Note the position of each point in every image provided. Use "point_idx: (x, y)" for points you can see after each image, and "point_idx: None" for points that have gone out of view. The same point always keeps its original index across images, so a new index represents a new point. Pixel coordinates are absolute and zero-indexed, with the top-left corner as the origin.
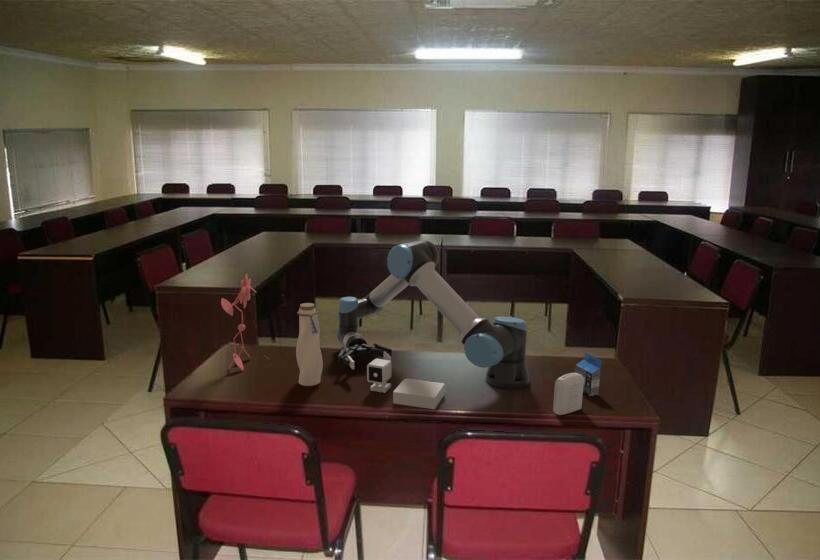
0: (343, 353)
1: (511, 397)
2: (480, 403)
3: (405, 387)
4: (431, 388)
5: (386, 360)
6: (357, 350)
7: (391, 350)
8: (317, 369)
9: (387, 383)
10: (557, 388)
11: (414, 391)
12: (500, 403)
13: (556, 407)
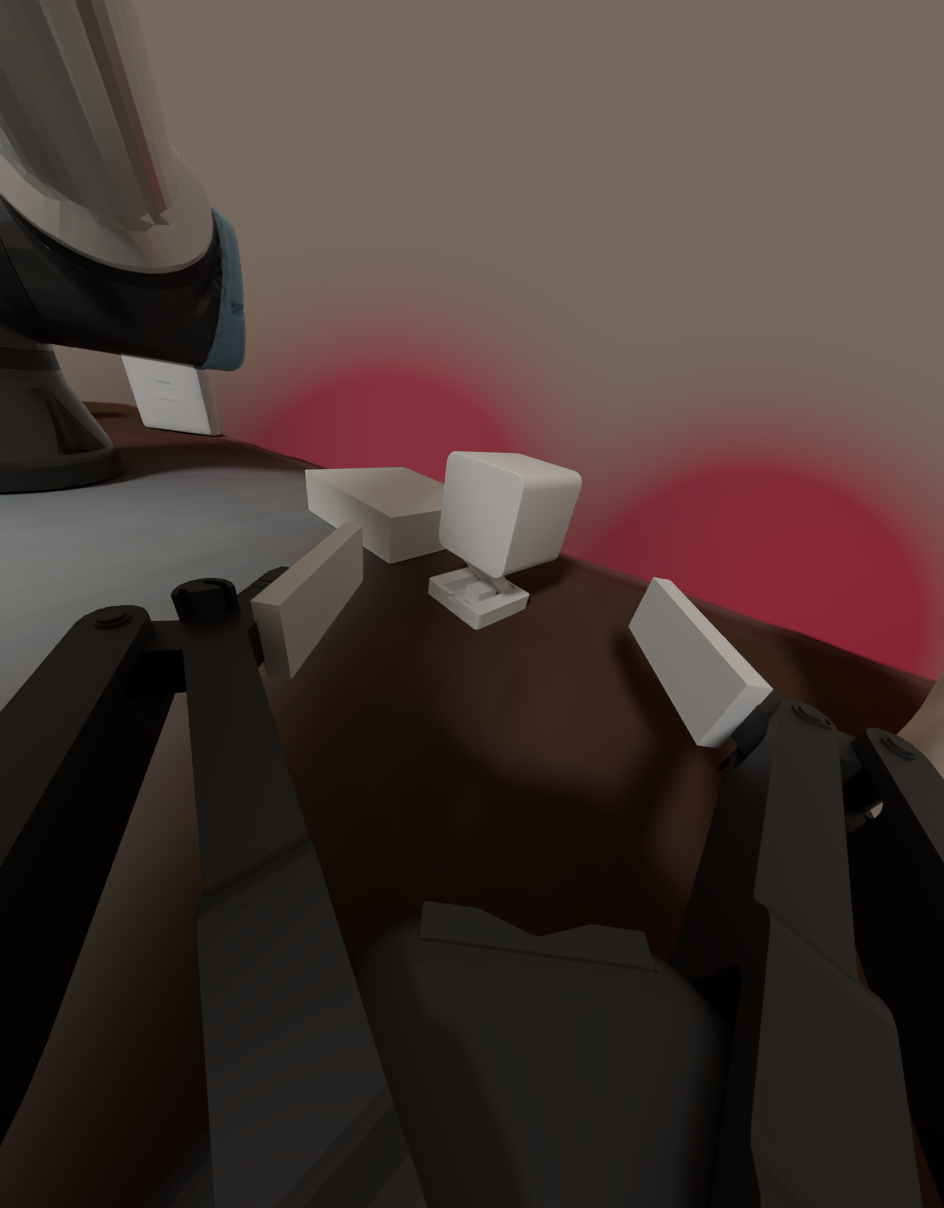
0: (928, 875)
1: (184, 459)
2: (282, 475)
3: (438, 498)
4: (370, 476)
5: (471, 455)
6: (657, 960)
7: (121, 608)
8: (936, 694)
9: (442, 585)
10: (206, 373)
11: (429, 486)
12: (245, 463)
13: (217, 420)
